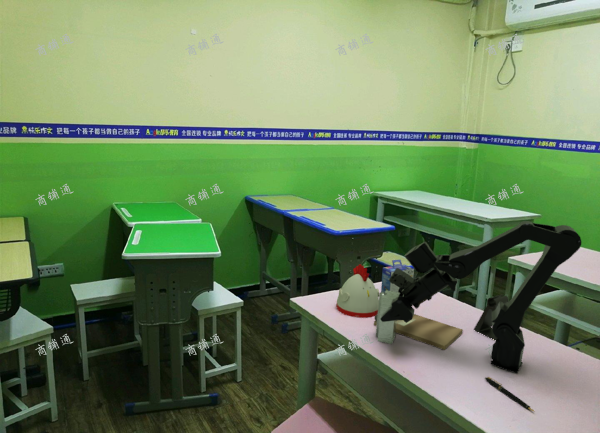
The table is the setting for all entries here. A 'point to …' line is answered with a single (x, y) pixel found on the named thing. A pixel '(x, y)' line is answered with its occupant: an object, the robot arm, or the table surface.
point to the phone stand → (489, 316)
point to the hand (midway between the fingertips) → (384, 315)
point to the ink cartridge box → (388, 273)
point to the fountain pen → (507, 392)
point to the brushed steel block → (387, 329)
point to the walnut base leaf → (428, 331)
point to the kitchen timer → (358, 295)
